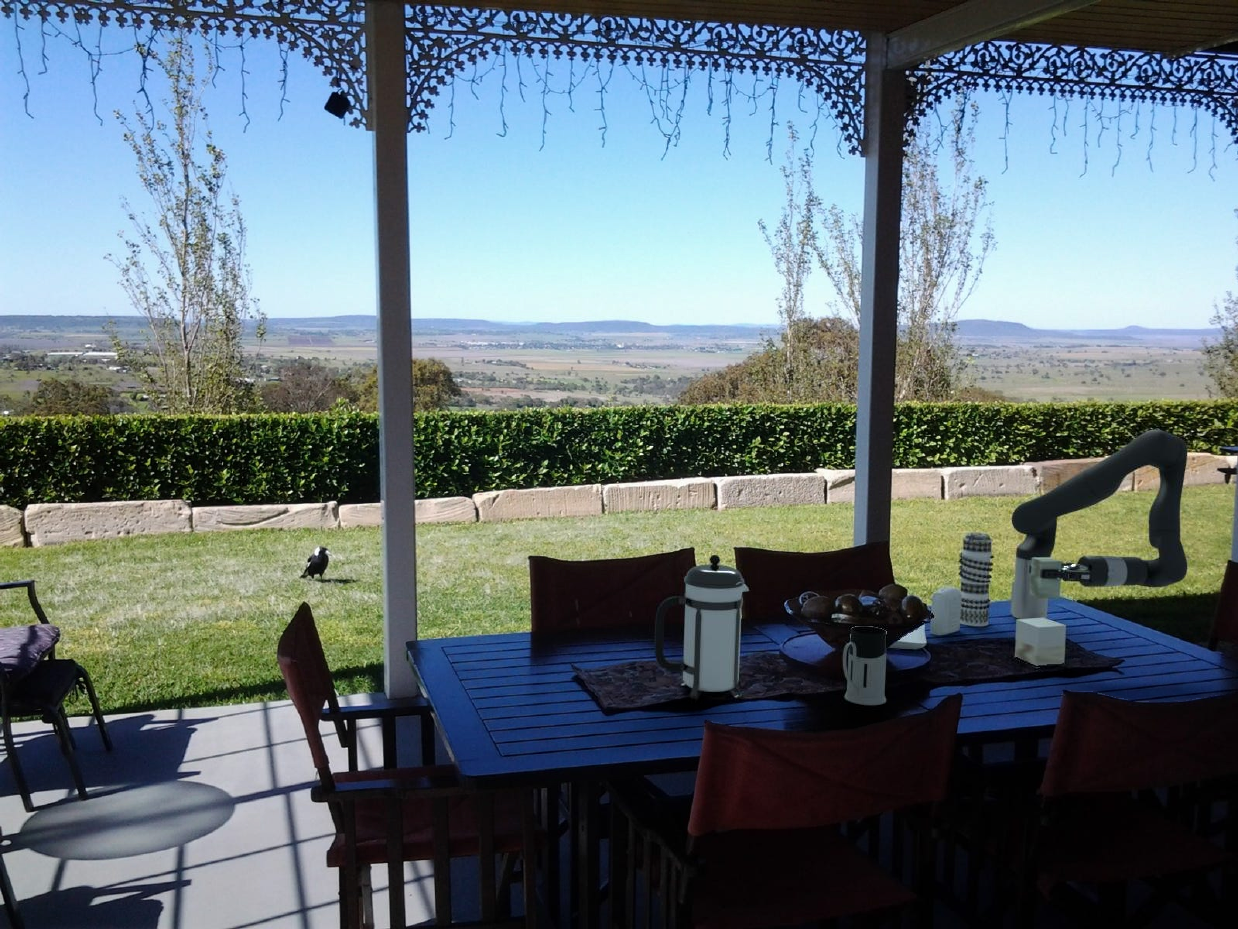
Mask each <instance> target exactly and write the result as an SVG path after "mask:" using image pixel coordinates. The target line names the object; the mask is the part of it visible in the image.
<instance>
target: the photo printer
mask: <svg viewBox="0 0 1238 929" xmlns="http://www.w3.org/2000/svg"><path fill="white" fill-rule="evenodd" d="M960 590H961V589H960V588H958V587H955V586H949V585H948V586H944V587H942V588H939V589H937V590H936V591H935V592H934V593H933V594H932V598H931V611H930V612H931V613H933V615H934V618H932V619H931V618H930V626H929V627H930V629H929V631H930V633H931V634H932V635H934V636H944V635H948V634H952V633H955V632H958V631H959V630H961V629H960V628H961V624H960V614H961V598H962V595H961V592H960ZM931 613H930V614H931Z"/></svg>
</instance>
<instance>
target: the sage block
mask: <svg viewBox="0 0 1238 929" xmlns="http://www.w3.org/2000/svg"><path fill="white" fill-rule="evenodd" d="M1062 562H1063V561H1062V560H1060V559H1056V558H1054V557H1051V558H1032V561H1031V580H1030V594H1031V595H1033V596H1035V597H1038V598H1048V599H1060V595H1061V583H1062V582H1061V581H1062V580H1058V579H1057V578H1056V579H1043V578H1041V577H1040V571H1041V569H1056V570H1057V569H1059V568H1060V569H1061V565H1062Z"/></svg>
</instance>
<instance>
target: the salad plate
mask: <svg viewBox="0 0 1238 929" xmlns="http://www.w3.org/2000/svg"><path fill="white" fill-rule="evenodd" d="M925 628H926V624H925V623H924V625H922V626H920V627H919V628H918V629H917V630H914V631H913V632H911V633H908V634H907V635H906V636H904V637H902V638H901V639H900V640H898V641H897V642H896V643H894V644H893V646H892V647H890V648H902V649H913V650H918V649H921V648H924V647H925V646H926V645H927V638H926V629H925Z"/></svg>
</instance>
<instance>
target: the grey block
mask: <svg viewBox="0 0 1238 929" xmlns="http://www.w3.org/2000/svg"><path fill="white" fill-rule="evenodd" d="M1015 623H1016V624H1015V639H1014V640H1015V641H1016V640H1018V641H1021V642H1023V643H1026V644H1028V645H1031V646H1034V647H1036V648H1044V647H1056V646H1065V647H1066V635H1067V634H1066V632H1067V625H1066V624H1063V623H1060V622H1057V621H1054V620H1051V619H1048V618H1047V619H1046V618H1031V619H1019V618H1016V622H1015Z"/></svg>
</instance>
